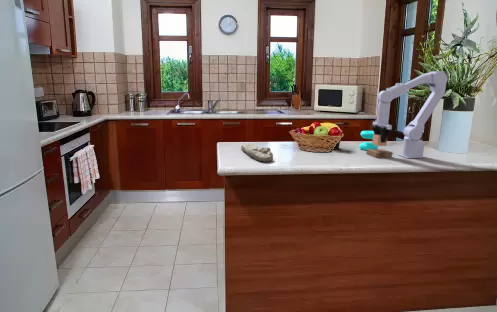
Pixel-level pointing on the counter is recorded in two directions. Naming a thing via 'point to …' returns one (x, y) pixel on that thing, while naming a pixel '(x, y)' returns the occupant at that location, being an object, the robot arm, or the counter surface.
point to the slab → (379, 153)
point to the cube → (378, 140)
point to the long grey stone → (257, 152)
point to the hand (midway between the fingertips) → (380, 141)
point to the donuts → (367, 144)
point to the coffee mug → (337, 145)
